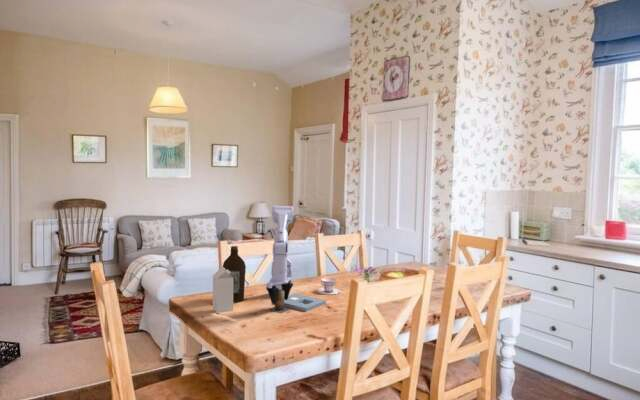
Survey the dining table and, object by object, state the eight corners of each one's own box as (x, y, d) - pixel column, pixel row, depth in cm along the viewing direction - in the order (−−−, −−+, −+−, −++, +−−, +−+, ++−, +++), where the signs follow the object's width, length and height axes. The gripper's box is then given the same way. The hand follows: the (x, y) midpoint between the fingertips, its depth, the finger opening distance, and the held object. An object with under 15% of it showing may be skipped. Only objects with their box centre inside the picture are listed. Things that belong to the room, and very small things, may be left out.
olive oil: (225, 295, 211) (226, 244, 210) (247, 296, 210) (248, 245, 209) (219, 302, 201) (219, 248, 199) (242, 303, 200) (242, 248, 198)
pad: (266, 311, 188) (266, 309, 188) (278, 307, 195) (278, 305, 195) (280, 315, 184) (280, 313, 184) (292, 311, 190) (292, 308, 190)
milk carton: (216, 314, 183) (216, 269, 182) (212, 309, 190) (212, 266, 188) (233, 312, 187) (233, 268, 185) (228, 307, 193) (228, 265, 192)
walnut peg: (272, 309, 189) (273, 291, 188) (278, 307, 192) (279, 289, 192) (280, 311, 187) (280, 292, 186) (286, 309, 190) (286, 290, 189)
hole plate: (274, 305, 197) (274, 300, 197) (294, 298, 209) (294, 292, 209) (306, 314, 187) (306, 307, 187) (326, 305, 199) (326, 299, 199)
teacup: (344, 291, 225) (345, 279, 225) (332, 296, 215) (333, 284, 215) (325, 287, 232) (325, 275, 231) (312, 292, 222) (312, 280, 221)
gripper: (276, 274, 180) (275, 307, 181) (297, 268, 192) (297, 299, 193) (263, 271, 184) (262, 303, 185) (285, 266, 196) (284, 296, 197)
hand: (279, 301), depth 189 cm, fingers open, 7 cm apart
